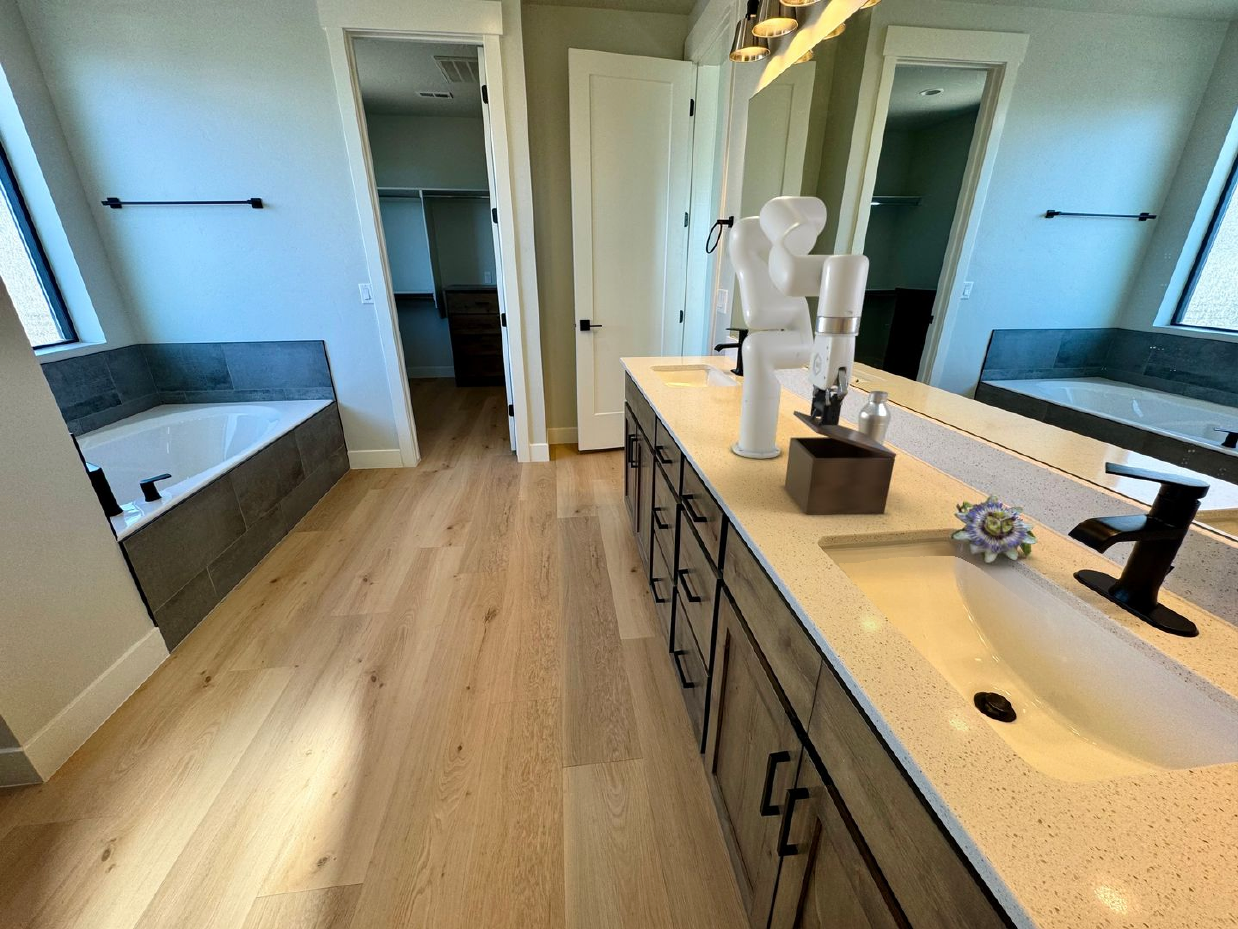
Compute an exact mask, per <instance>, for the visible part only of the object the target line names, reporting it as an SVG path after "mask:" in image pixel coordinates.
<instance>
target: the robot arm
mask: <svg viewBox="0 0 1238 929" xmlns="http://www.w3.org/2000/svg"><path fill="white" fill-rule="evenodd" d="M827 216H828V213H827V207H826V205H825V203H824V202H823V201H822V200H821V198H819V197H815V196H778V197H774V198H772V199H770V200H769V201H767V202H766V203H765V204H764V205H763V206H762V207H761V210H760V212H759V216H757V215H756V216H748V217H743V218H740V219H739V220H737V221H736V222H734V223H733V225H732V227H731V228H730V231H729V235H728V236H729V237H728V252H729V259H730V263H731V265H732V267H733V270H734V272H735V276H736V277H737V281H738V285H739V294H740V301H741V308H742V309H741V310H742V316H743V321H744V323H745V325H746V327H747V328H749V329H752V330H760V331H755V332H752V333H750V334H749V335H747V336H746V337H745V338H744V340H743V342H742V345H741V356H742V357H741V358H742V370H743V373H742V374H743V376H742V377H743V379H742V380H743V382H742V396H741V409H740V419H739V420H740V421H739V433H738V434H739V435H738V441H736V442H734V443H733V445H732V451H733V453H735V454H737V455H739V456H741V457H745V458H749V459H759V460H762V459H772V458H776V457H778V456H779V455H780V454H781V451H782V449H781V447H780V446H779V445H778V444H776V441H777V440H776V439H777V431H778V421H779V412H780V403H781V393H782V388H781V387H782V386H781V384H780V381H779V379H778V378H777V376H776V374H774V371H778V370H795V369H804V368H805V367H807V366H808V371H807V381H808V382H809V383H810V384H811V385H812V387H813V390H812V393H811V394H812V398H811V406H810V412H809V413H810V414H809V415H810V416H812V414H813V412H814V409H815V407H814V403H815V401H817V400H821V401H823V402H824V403H826V404H824V405H823V412H821V411H819V412H818V414H817V416H816V418H821V416H822V419H821V424H822V425H839V423H840V416H841V410H842V406H843V404H844V399H845V397H847V395H848V394H849V388H850V385H851V382H852V375H853V369H854V362H855V360H854V359H855V348H856V337H858V336H859V331H860V325H861V319H862V311H863V305H864V300H865V292H866V287H867V280H868V275H869V274H868V273H869V269H870V268H869V267H870V260H869V258H868V257H867V256H866V255H864V254H809V253H810V252H811V251H812V250H813V248H814V247H815V245H816V242H817V238H818V236H819V235H820V234H821V233H822V231H823V230H824V228H825V226H826V223H827V218H828V217H827ZM759 254H768V260H767V261H768V263H766V262H765V261H764V260H763V259H762V258H761V257H760V256H759ZM806 297H819V298H818V303H817V304H818V305H817V312H816V319H815V320H816V321H815V328H814V334H813V329H812V321H811V316H810V309H809V304H808V300H807V298H806ZM813 335H815V337H814V336H813ZM833 386H834V387H835V388H832V387H833ZM832 393H833V394H832Z"/></svg>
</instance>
